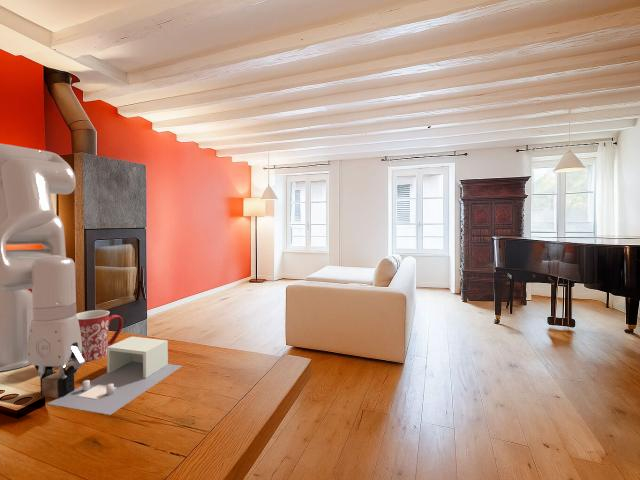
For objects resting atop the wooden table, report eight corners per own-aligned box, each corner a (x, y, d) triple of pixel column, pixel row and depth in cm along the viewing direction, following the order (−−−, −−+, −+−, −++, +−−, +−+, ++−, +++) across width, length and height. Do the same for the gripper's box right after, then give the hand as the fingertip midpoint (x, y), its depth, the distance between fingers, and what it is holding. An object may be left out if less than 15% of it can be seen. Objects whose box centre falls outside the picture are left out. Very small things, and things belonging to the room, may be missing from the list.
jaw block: (42, 400, 70) (41, 378, 70) (60, 391, 74) (60, 370, 74) (57, 403, 70) (56, 380, 69) (74, 393, 74) (74, 372, 73)
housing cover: (107, 372, 81) (106, 347, 81) (131, 359, 89) (131, 336, 89) (146, 378, 79) (145, 351, 79) (167, 364, 87) (167, 340, 86)
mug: (77, 370, 85) (76, 320, 84) (67, 360, 91) (67, 314, 90) (128, 355, 95) (128, 311, 94) (117, 348, 100) (117, 306, 100)
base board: (47, 409, 67) (47, 394, 67) (132, 363, 90) (132, 352, 90) (110, 420, 64) (110, 405, 64) (182, 370, 86) (182, 358, 86)
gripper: (6, 315, 69) (9, 397, 70) (69, 318, 66) (72, 405, 66) (43, 307, 77) (45, 382, 77) (101, 309, 73) (103, 388, 74)
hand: (57, 391), depth 72 cm, fingers closed on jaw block, 4 cm apart
